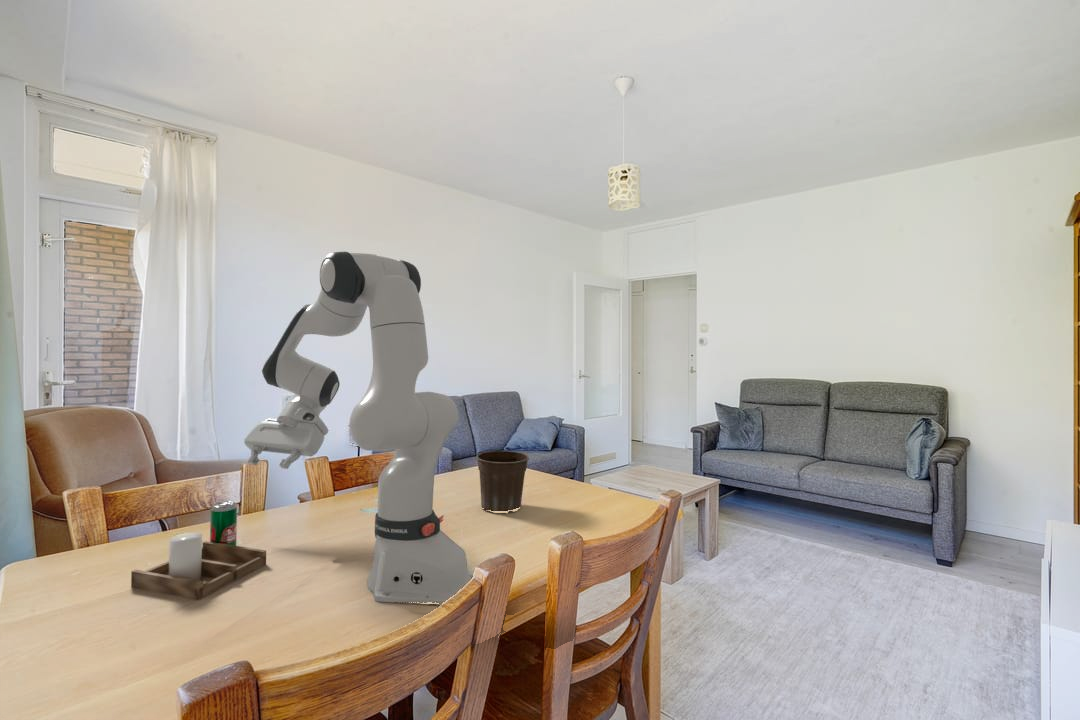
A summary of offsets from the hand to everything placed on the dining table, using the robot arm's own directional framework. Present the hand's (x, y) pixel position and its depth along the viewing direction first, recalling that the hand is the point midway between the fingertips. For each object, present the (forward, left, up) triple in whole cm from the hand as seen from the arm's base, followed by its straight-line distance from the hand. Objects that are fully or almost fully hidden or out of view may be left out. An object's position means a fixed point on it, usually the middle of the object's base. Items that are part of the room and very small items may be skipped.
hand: (267, 465), depth 123 cm
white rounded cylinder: (-6, +27, -17) cm, 32 cm away
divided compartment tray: (-6, +23, -18) cm, 30 cm away
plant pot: (-48, -42, -18) cm, 66 cm away
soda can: (0, +12, -18) cm, 22 cm away
